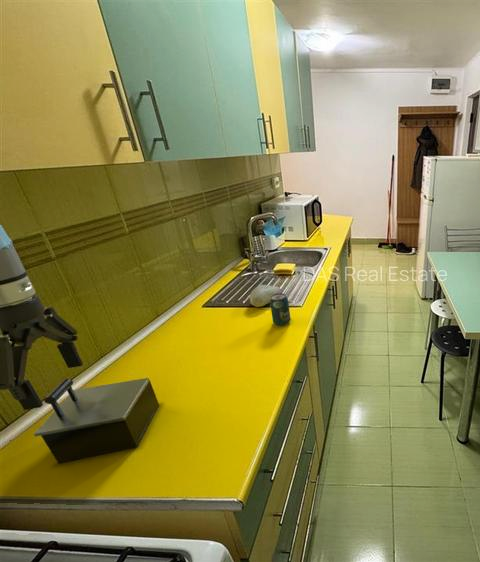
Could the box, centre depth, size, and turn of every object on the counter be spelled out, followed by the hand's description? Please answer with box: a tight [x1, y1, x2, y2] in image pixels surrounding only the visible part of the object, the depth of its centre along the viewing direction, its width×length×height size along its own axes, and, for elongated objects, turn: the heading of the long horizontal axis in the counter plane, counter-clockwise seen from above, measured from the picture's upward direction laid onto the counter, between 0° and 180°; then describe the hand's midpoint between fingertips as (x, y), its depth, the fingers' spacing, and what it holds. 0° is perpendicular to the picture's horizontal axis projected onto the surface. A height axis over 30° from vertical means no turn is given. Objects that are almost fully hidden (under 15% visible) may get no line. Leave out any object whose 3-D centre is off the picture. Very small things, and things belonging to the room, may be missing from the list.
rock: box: [249, 284, 282, 308], centre depth 141 cm, size 8×11×20 cm
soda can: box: [269, 292, 292, 327], centre depth 122 cm, size 7×7×12 cm
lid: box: [33, 377, 150, 437], centre depth 71 cm, size 17×14×7 cm
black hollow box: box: [41, 379, 160, 464], centre depth 74 cm, size 16×14×9 cm
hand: (56, 385), depth 68 cm, fingers open, 13 cm apart
